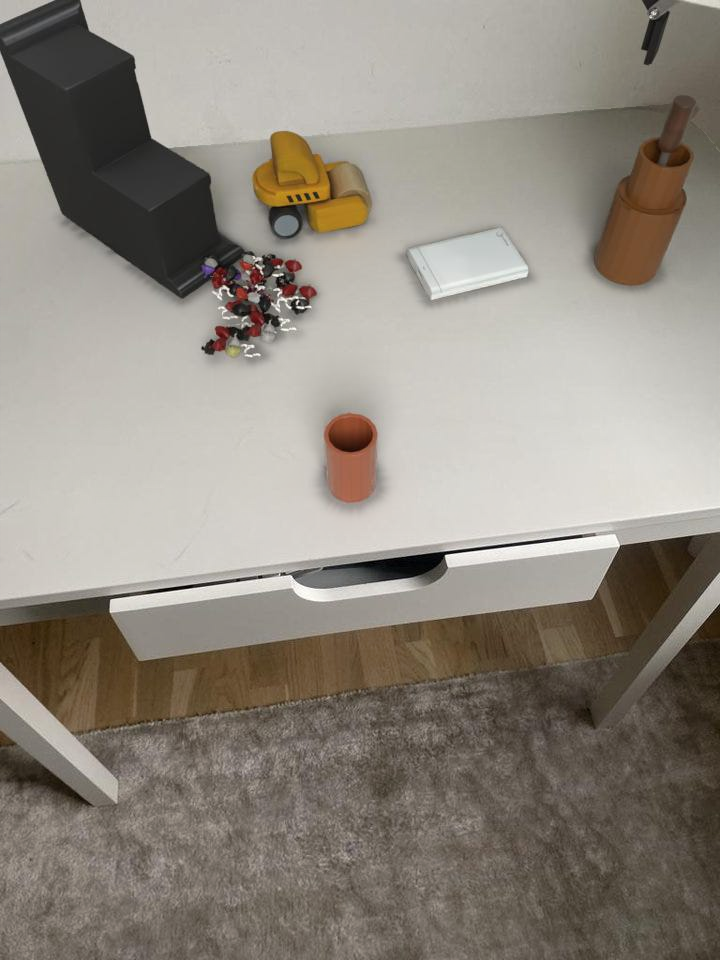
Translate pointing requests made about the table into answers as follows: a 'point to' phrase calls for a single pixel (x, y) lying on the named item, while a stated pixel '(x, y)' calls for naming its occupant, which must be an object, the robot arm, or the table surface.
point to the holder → (351, 457)
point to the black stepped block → (110, 149)
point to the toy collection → (253, 299)
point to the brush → (675, 127)
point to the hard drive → (467, 263)
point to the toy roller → (309, 188)
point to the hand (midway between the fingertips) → (700, 69)
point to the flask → (643, 215)
